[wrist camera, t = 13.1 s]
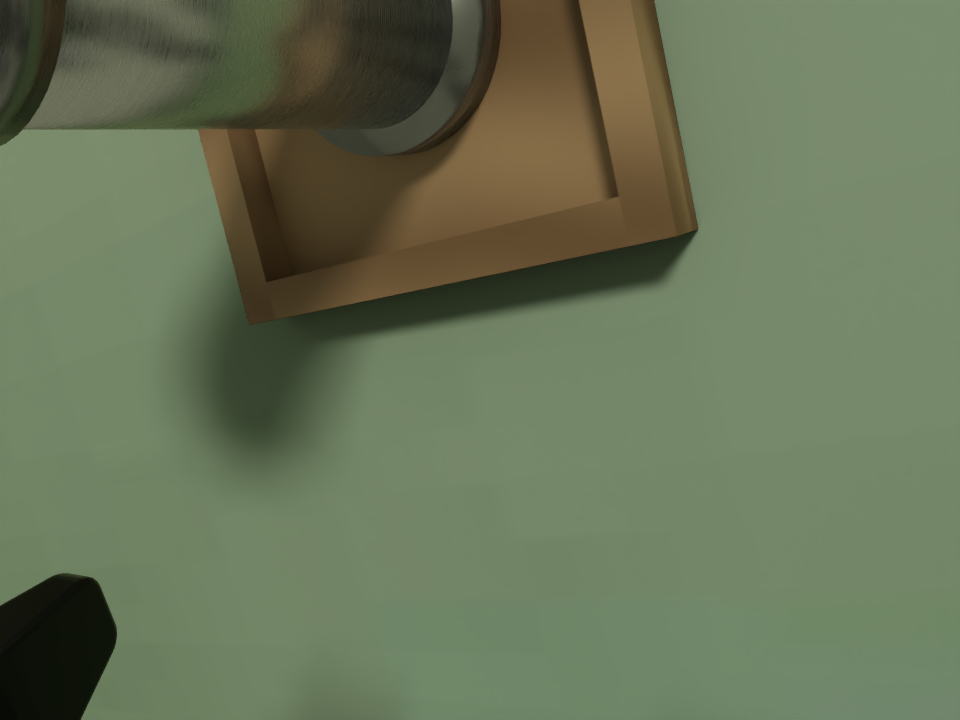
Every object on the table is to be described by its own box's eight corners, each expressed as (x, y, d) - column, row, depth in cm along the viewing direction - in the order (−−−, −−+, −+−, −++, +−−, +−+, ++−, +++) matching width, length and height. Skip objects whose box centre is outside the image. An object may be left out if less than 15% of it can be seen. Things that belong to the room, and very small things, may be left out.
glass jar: (457, 191, 20) (1, 242, 11) (283, 108, 22) (-222, 93, 13) (535, -65, 18) (39, -267, 9) (332, -130, 20) (-238, -348, 11)
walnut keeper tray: (698, 229, 18) (676, 236, 17) (285, 315, 25) (249, 324, 23) (577, -395, 17) (544, -434, 15) (172, -127, 23) (126, -140, 22)
